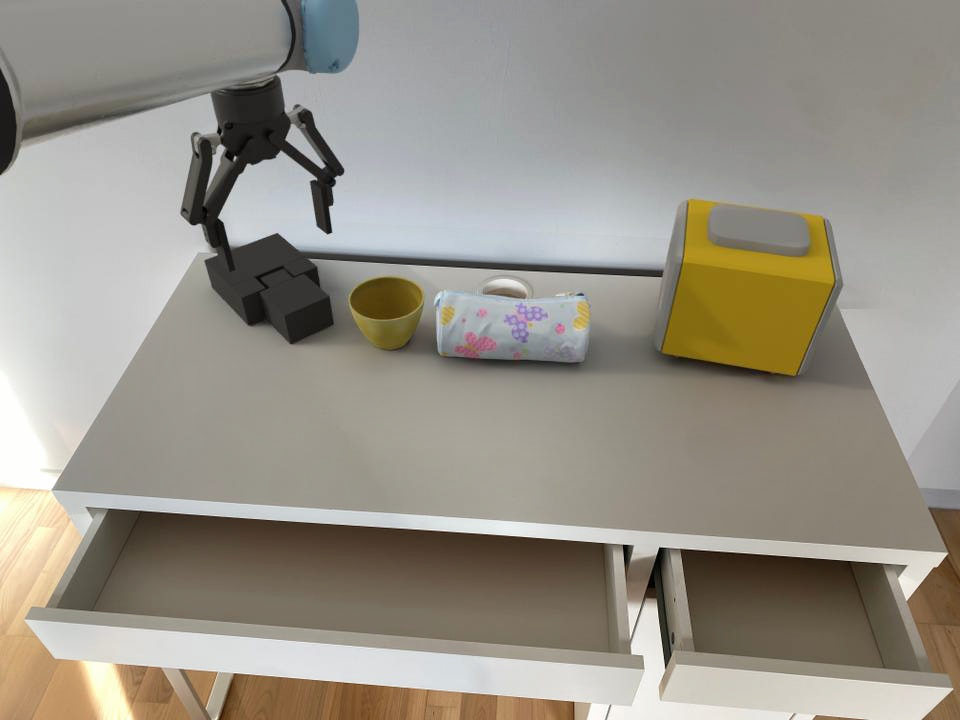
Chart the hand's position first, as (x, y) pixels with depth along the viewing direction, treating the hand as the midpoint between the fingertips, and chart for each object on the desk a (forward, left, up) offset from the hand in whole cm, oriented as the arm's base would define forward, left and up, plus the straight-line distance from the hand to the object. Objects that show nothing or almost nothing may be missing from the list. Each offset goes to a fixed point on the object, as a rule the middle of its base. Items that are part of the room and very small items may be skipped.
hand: (277, 247), depth 91 cm
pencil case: (+21, -22, -15) cm, 34 cm away
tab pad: (+2, +4, -15) cm, 15 cm away
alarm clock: (+46, -39, -15) cm, 62 cm away
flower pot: (+10, -9, -15) cm, 20 cm away
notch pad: (+2, +12, -15) cm, 19 cm away
